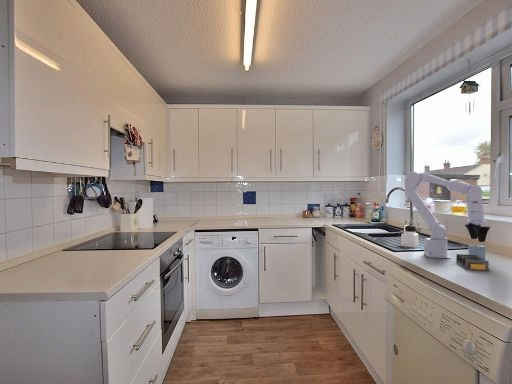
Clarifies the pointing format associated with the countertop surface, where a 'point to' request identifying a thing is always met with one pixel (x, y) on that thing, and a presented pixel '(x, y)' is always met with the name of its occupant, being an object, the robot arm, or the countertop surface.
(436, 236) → the robot arm
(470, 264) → the rack
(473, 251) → the panel
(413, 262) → the countertop surface
